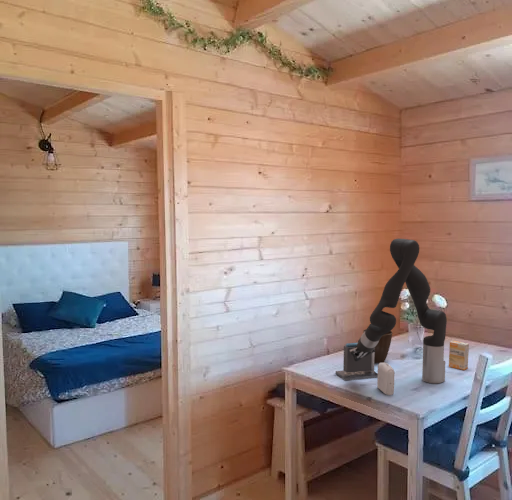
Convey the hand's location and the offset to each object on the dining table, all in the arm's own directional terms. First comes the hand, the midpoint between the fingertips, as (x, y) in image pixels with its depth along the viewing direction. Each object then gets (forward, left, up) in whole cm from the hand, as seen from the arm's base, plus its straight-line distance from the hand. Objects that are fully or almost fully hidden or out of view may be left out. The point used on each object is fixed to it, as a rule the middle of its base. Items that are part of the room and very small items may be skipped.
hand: (355, 359), depth 239 cm
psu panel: (-4, -6, -10) cm, 12 cm away
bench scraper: (-5, -6, -8) cm, 11 cm away
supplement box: (-59, -3, -10) cm, 59 cm away
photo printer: (-6, +17, -10) cm, 21 cm away
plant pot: (-25, -24, -10) cm, 36 cm away
